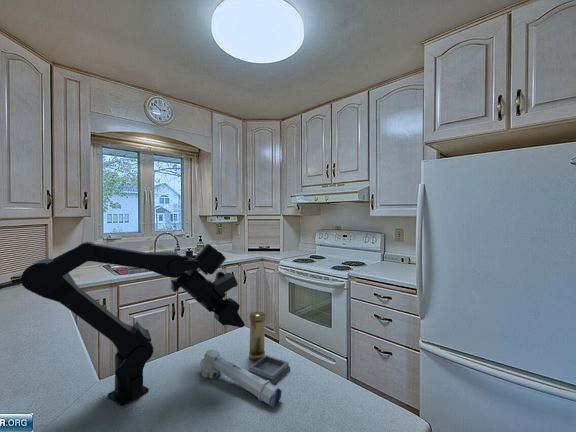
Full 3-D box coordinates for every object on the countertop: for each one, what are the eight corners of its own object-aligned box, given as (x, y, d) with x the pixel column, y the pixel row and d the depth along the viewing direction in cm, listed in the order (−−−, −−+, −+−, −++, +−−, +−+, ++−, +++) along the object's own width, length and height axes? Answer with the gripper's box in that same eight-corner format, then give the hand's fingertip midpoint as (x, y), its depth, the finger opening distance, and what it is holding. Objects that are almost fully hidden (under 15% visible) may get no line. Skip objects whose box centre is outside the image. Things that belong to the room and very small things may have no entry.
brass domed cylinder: (245, 358, 84) (246, 315, 84) (255, 351, 88) (256, 310, 88) (258, 362, 81) (259, 318, 81) (267, 355, 85) (268, 313, 85)
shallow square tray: (247, 375, 75) (247, 367, 75) (265, 361, 82) (265, 354, 82) (273, 385, 70) (273, 376, 70) (289, 370, 77) (290, 362, 77)
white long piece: (271, 395, 61) (197, 348, 74) (267, 423, 61) (194, 371, 75) (284, 383, 65) (212, 341, 79) (280, 410, 66) (210, 363, 79)
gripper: (232, 270, 70) (270, 306, 76) (209, 260, 86) (242, 291, 92) (200, 306, 66) (243, 342, 72) (183, 289, 81) (219, 319, 87)
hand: (237, 320), depth 81 cm, fingers open, 9 cm apart
